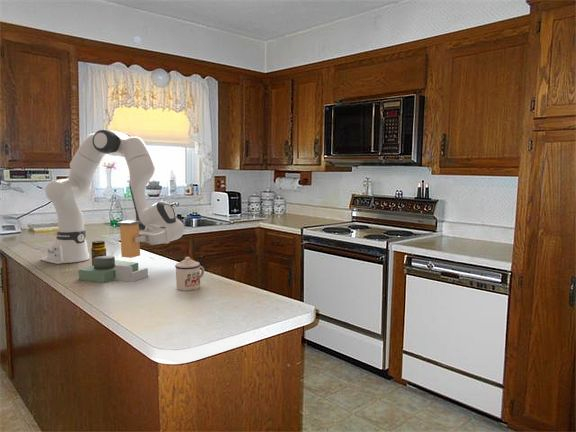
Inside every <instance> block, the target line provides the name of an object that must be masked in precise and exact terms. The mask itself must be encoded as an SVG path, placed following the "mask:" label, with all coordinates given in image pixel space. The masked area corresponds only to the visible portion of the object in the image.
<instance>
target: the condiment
mask: <svg viewBox="0 0 576 432" xmlns="http://www.w3.org/2000/svg"><path fill="white" fill-rule="evenodd" d="M90 250H91V253H90V254H91V266H94V261H93V258H95V257H99V256H107V247H106V242H105V241H104V240H94V241H92V242H91V248H90Z"/></svg>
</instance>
